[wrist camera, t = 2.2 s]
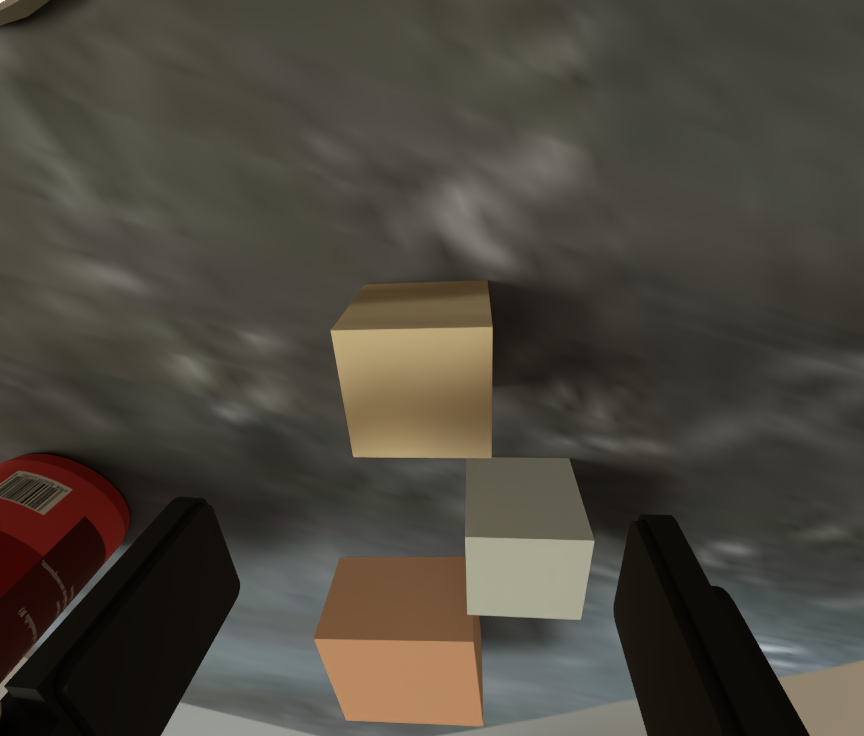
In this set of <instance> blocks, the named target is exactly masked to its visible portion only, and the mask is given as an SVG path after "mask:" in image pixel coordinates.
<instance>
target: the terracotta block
mask: <svg viewBox="0 0 864 736" xmlns="http://www.w3.org/2000/svg"><path fill="white" fill-rule="evenodd" d="M314 640H315V643H316V645H317V648H318V650H319V653H320V656H321V658H322V661H323V663H324V666H325V668H326V671H327V673H328V676H329V678H330V681H331V683H332V686H333V688H334V691H335V693H336V696H337V698H338V701H339V703H340V706H341V708H342V711H343V713H344V716H345V718H346V720H349V721H373V722H396V723H420V724H443V725H467V726H483V687H482V638H481V628H480V619H479V615H467V587H466V557H373V558H340V559H339V562H338V565H337V568H336V571H335V575H334V578H333V581H332V584H331V587H330V590H329V593H328V597H327V600H326V603H325V606H324V609H323V612H322V615H321V618H320V622H319V625H318V628H317V631H316V634H315V637H314Z"/></svg>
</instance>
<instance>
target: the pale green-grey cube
mask: <svg viewBox="0 0 864 736" xmlns="http://www.w3.org/2000/svg"><path fill="white" fill-rule="evenodd" d="M593 546H594V538H593V534H592V531H591V528H590V525H589V521H588V518H587V515H586V512H585V508H584V505H583V502H582V499H581V495H580V492H579V489H578V486H577V482H576V479H575V476H574V473H573V469H572V466H571V463H570V460H569V458H499V457H491V458H466V518H465V549H466V587H467V615H484V616H506V617H528V618H550V619H572V620H581V616H582V610H583V604H584V599H585V593H586V587H587V581H588V575H589V570H590V564H591V558H592V552H593Z"/></svg>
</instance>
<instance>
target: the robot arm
mask: <svg viewBox="0 0 864 736" xmlns="http://www.w3.org/2000/svg"><path fill="white" fill-rule="evenodd" d="M48 1H50V0H0V25H3V24H6V23H10V22H13V21H16V20H19V19H22V18H25V17H28V16H29V15H30V14H32V13H33V12H35V11H36V10H37V9H39V8H40V7H41V6H43V5H44V4H46V3H47V2H48ZM239 590H240V581H239V578H238V576H237V573H236V570H235V567H234V565H233V562H232V559H231V556H230V554H229V551H228V548H227V545H226V543H225V540H224V537H223V534H222V532H221V529H220V526H219V523H218V520H217V518H216V515H215V512H214V509H213V508H212V506H211V505H208V503H207V501H206V500H205V499H203V498H188V497H177V498H175V499H173V500H172V501H171V502H170V503H169V504H168V505H167V506H166V508H165V509H164V510H163V511H162V512H161V513H160V514H159V515H158V516H157V518H156V519H155V520H154V521H153V522H152V523H151V524H150V525H149V526H148V527H147V529H146V530H145V531H144V532H143V533H142V534H141V535H140V536H139V537H138V539H137V540H136V541H135V542H134V543H133V544H132V545H131V546H130V547H129V549H128V550H127V551H126V552H125V553H124V554H123V555H122V556H121V557H120V558H119V560H118V561H117V562H116V563H115V564H114V565H113V566H112V567H111V568H110V570H109V571H108V572H107V573H106V574H105V575H104V576H103V577H102V578H101V580H100V581H99V582H98V583H97V584H96V585H95V586H94V587H93V588H92V589H91V591H90V592H89V593H88V594H87V595H86V596H85V597H84V598H83V599H82V601H81V602H80V603H79V604H78V605H77V606H76V607H75V608H74V609H73V611H72V612H71V613H70V614H69V615H68V616H67V617H66V618H65V619H64V620H63V622H62V623H61V624H60V625H59V626H58V627H57V628H56V629H55V630H54V632H53V633H52V634H51V635H50V636H49V637H48V638H47V639H46V640H45V642H44V643H43V644H42V645H41V646H40V647H39V648H38V649H37V650H36V651H35V653H34V654H33V655H32V656H31V657H30V658H29V659H28V660H27V662H26V663H25V664H24V665H23V666H22V667H21V668H20V669H19V671H17V673H16V674H15V675H14V676H13V677H12V678H11V679H10V680H9V681H8V682H7V684H6V685H5V686H4V687H5V688H6V689H7V690H8V692H7V693H6V695H5V696H4V697H3V698H2V699H1V700H0V736H161V734H162V732H163V731H164V729H165V727H166V725H167V723H168V721H169V720H170V718H171V716H172V714H173V713H174V711H175V709H176V707H177V705H178V704H179V702H180V700H181V698H182V696H183V695H184V693H185V691H186V689H187V687H188V686H189V684H190V682H191V680H192V678H193V677H194V675H195V673H196V671H197V669H198V668H199V666H200V664H201V662H202V660H203V659H204V657H205V655H206V653H207V651H208V650H209V648H210V646H211V644H212V642H213V641H214V639H215V637H216V635H217V633H218V632H219V630H220V628H221V626H222V624H223V623H224V621H225V619H226V617H227V615H228V614H229V612H230V610H231V608H232V606H233V605H234V603H235V601H236V599H237V597H238V594H239ZM614 618H615V623H616V627H617V630H618V634H619V637H620V641H621V644H622V648H623V651H624V655H625V658H626V662H627V665H628V669H629V672H630V676H631V679H632V683H633V686H634V690H635V693H636V697H637V700H638V704H639V707H640V710H641V714H642V717H643V721H644V725H645V728H646V732H647V735H648V736H810V735H809V733H808V732H807V730H806V728H805V726H804V725H803V723H802V721H801V719H800V717H799V716H798V714H797V712H796V710H795V709H794V707H793V705H792V703H791V702H790V700H789V698H788V696H787V694H786V693H785V691H784V689H783V687H782V686H781V684H780V682H779V680H778V679H777V677H776V675H775V673H774V671H773V670H772V668H771V666H770V664H769V663H768V661H767V659H766V657H765V656H764V654H763V652H762V650H761V649H760V647H759V645H758V643H757V641H756V640H755V638H754V636H753V634H752V633H751V631H750V629H749V627H748V626H747V624H746V622H745V620H744V618H743V617H742V615H741V613H740V611H739V610H738V608H737V606H736V604H735V603H734V601H733V600H732V598H731V597H730V595H729V594H728V593H727V592H726V591H725V590H724V589H723V588H721V587H718V586H711V585H710V583H709V581H708V579H707V578H706V576H705V574H704V572H703V570H702V568H701V566H700V564H699V563H698V561H697V559H696V557H695V555H694V553H693V551H692V549H691V548H690V546H689V544H688V542H687V540H686V538H685V536H684V534H683V533H682V531H681V529H680V527H679V525H678V523H677V521H676V520H675V518H674V517H672V516H671V515H647V514H641V516H640V517H639V520H638V521H632V522H631V523H630V527H629V532H628V537H627V542H626V546H625V551H624V556H623V561H622V566H621V571H620V576H619V581H618V586H617V591H616V596H615V601H614Z"/></svg>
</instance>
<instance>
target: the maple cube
mask: <svg viewBox="0 0 864 736" xmlns="http://www.w3.org/2000/svg"><path fill="white" fill-rule="evenodd" d="M331 335H332V340H333V346H334V351H335V357H336V363H337V368H338V374H339V379H340V385H341V391H342V396H343V402H344V407H345V413H346V418H347V424H348V430H349V435H350V441H351V446H352V452H353V457H403V458H491V448H492V343H493V326H492V317H491V308H490V299H489V290H488V281H487V280H478V281H447V282H416V283H385V284H365V285H364V287H363V288H362V289H361V291H360V292H359V293H358V295H357V296H356V297H355V299H354V300H353V301H352V303H351V304H350V305H349V307H348V308H347V309H346V311H345V312H344V313H343V315H342V316H341V317H340V319H339V320H338V321H337V323H336V324H335V325H334V327H333V328H332V329H331Z"/></svg>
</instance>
